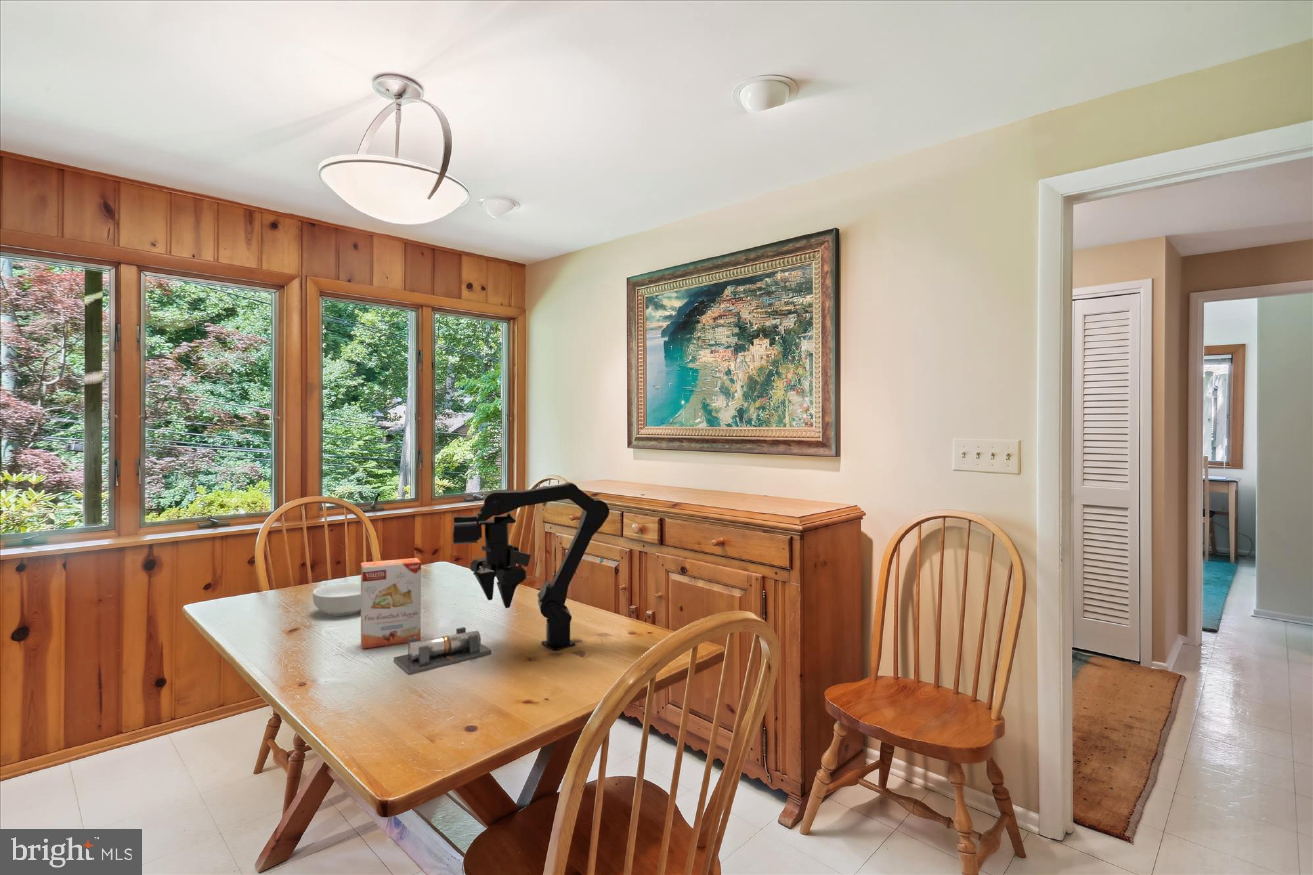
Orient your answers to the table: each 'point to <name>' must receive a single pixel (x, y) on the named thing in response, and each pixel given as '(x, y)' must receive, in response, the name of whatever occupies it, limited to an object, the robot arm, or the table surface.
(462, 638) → the tube
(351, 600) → the cereal bowl
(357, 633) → the table surface
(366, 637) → the cracker box
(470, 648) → the stand
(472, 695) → the table surface
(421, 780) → the table surface
